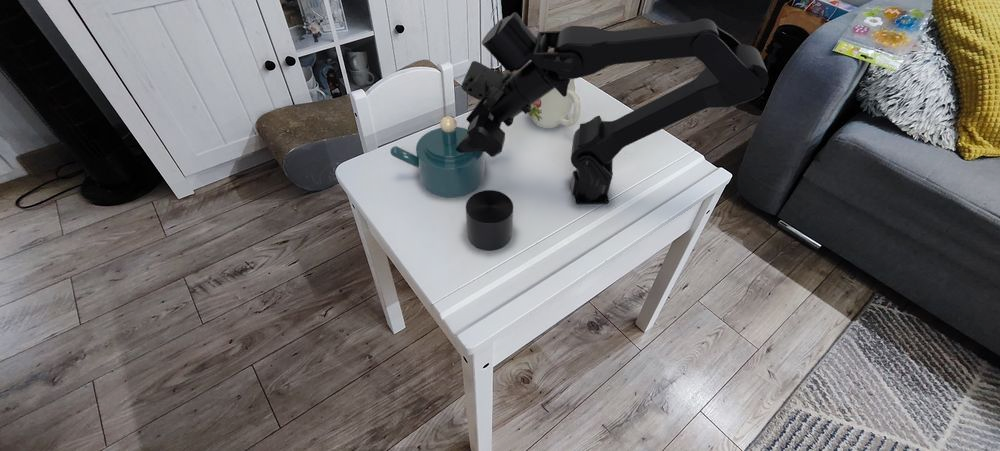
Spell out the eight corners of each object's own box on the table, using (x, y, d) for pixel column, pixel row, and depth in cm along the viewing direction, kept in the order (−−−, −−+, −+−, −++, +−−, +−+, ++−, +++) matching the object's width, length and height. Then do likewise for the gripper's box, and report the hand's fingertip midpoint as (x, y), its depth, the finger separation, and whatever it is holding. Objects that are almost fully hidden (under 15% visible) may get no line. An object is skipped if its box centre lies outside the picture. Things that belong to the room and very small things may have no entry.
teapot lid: (483, 140, 87) (483, 115, 83) (452, 165, 82) (450, 139, 78) (447, 123, 91) (445, 97, 86) (415, 146, 86) (411, 120, 81)
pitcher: (553, 150, 98) (561, 94, 88) (508, 109, 109) (510, 54, 98) (592, 134, 103) (604, 79, 92) (545, 96, 113) (551, 42, 102)
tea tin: (510, 217, 85) (511, 189, 80) (513, 250, 80) (514, 223, 74) (467, 218, 85) (465, 190, 79) (467, 251, 79) (465, 224, 74)
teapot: (483, 143, 99) (483, 112, 94) (485, 196, 88) (485, 165, 82) (400, 145, 99) (394, 113, 93) (391, 198, 88) (384, 166, 82)
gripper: (500, 26, 78) (442, 78, 87) (479, 82, 66) (415, 137, 75) (542, 72, 83) (483, 117, 92) (530, 133, 71) (464, 178, 80)
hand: (462, 135), depth 85 cm, fingers open, 9 cm apart
